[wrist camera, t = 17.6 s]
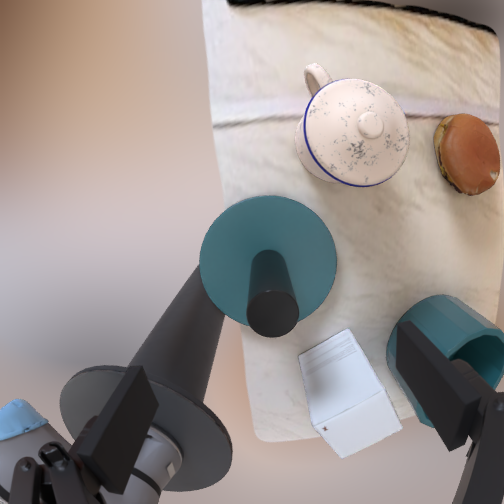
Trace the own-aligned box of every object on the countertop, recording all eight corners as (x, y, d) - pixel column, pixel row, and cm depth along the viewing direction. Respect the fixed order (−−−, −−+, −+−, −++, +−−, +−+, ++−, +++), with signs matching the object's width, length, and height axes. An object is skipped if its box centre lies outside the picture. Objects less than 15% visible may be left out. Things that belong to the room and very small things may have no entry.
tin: (384, 391, 37) (409, 441, 27) (386, 308, 34) (424, 351, 24) (460, 365, 36) (495, 403, 26) (470, 284, 33) (518, 313, 23)
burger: (439, 102, 28) (460, 95, 24) (489, 139, 29) (511, 137, 24) (420, 174, 30) (441, 175, 26) (473, 206, 31) (495, 210, 26)
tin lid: (217, 332, 35) (198, 405, 22) (188, 210, 32) (143, 229, 19) (340, 311, 34) (376, 376, 21) (323, 184, 31) (365, 187, 18)
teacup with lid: (387, 164, 30) (443, 160, 19) (316, 199, 31) (346, 209, 20) (337, 69, 28) (371, 22, 17) (263, 99, 29) (265, 58, 18)
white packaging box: (321, 391, 37) (339, 462, 25) (296, 354, 36) (309, 426, 23) (370, 365, 36) (404, 430, 24) (350, 325, 35) (385, 388, 22)
